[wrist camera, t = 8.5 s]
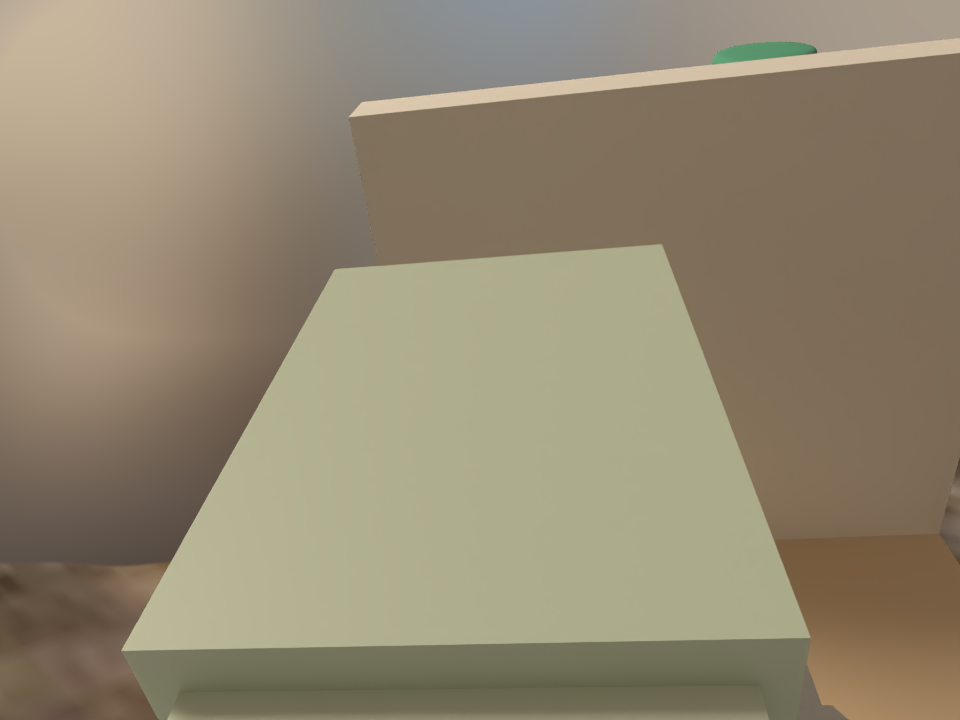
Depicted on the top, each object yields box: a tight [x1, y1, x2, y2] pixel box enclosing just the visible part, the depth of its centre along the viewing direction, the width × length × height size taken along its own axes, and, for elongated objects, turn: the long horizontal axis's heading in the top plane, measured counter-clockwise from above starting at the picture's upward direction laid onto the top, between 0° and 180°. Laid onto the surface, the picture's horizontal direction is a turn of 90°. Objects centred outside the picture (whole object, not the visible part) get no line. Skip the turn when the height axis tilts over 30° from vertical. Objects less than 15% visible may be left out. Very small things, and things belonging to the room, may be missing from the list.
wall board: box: [349, 38, 960, 720], centre depth 23 cm, size 20×14×22 cm
